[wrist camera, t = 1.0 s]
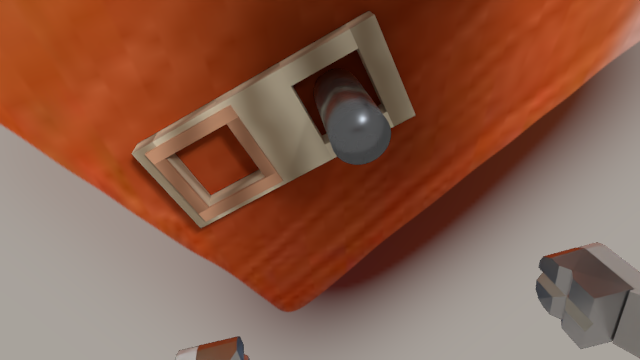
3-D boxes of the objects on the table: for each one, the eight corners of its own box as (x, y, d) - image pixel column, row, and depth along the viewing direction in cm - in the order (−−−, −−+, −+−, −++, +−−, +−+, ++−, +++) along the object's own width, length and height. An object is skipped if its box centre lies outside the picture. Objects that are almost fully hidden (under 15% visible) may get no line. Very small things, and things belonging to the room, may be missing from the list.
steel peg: (347, 59, 35) (377, 97, 27) (367, 100, 37) (399, 146, 29) (304, 83, 36) (320, 128, 27) (326, 122, 38) (346, 174, 30)
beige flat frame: (368, 10, 33) (375, 15, 31) (408, 107, 38) (416, 116, 36) (137, 143, 36) (130, 155, 35) (202, 216, 42) (200, 230, 40)
